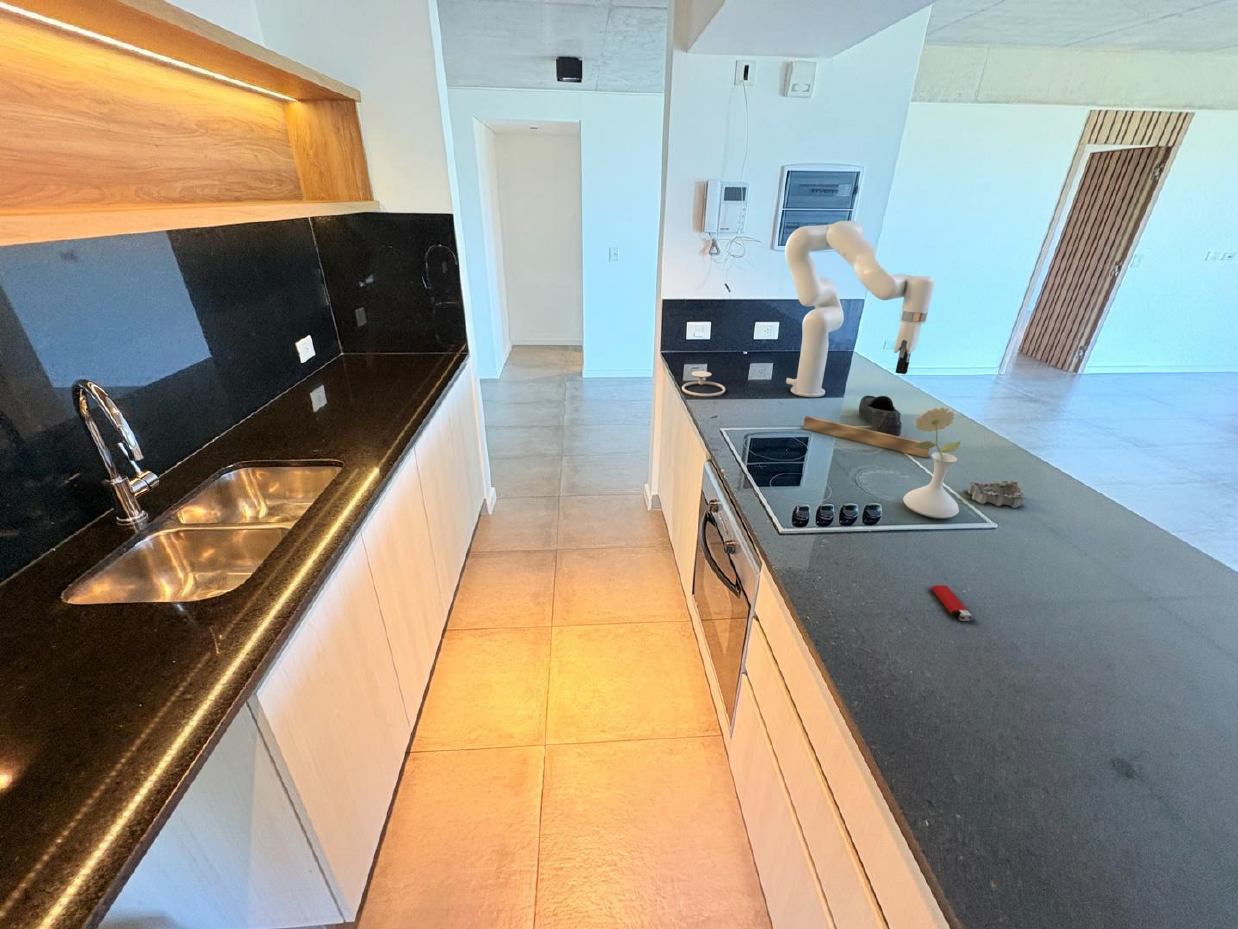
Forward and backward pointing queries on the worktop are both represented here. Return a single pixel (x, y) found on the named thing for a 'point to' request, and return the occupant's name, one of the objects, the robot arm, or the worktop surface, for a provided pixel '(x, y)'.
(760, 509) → the worktop surface
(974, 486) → the egg carton
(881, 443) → the long wooden plank
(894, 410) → the loafer
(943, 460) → the flower in vase
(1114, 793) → the worktop surface
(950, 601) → the lighter
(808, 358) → the robot arm
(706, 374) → the hand towel holder
